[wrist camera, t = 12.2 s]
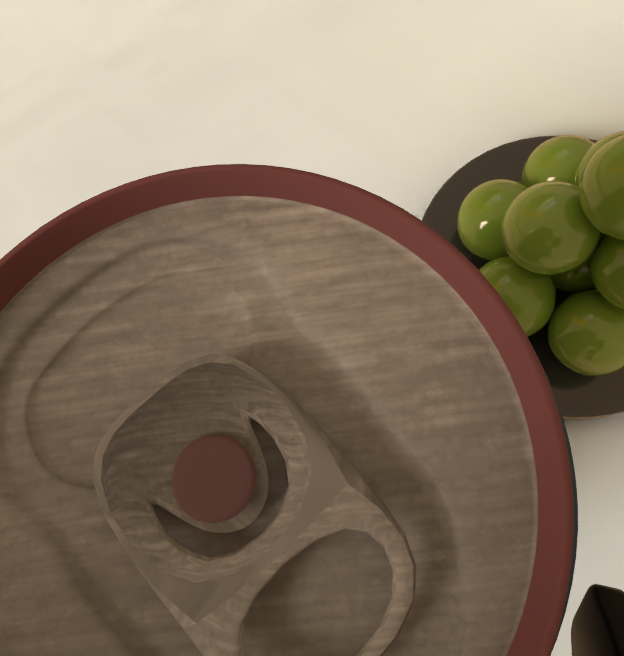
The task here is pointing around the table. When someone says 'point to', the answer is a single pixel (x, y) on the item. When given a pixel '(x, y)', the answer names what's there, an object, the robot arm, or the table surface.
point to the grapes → (551, 254)
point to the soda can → (271, 432)
